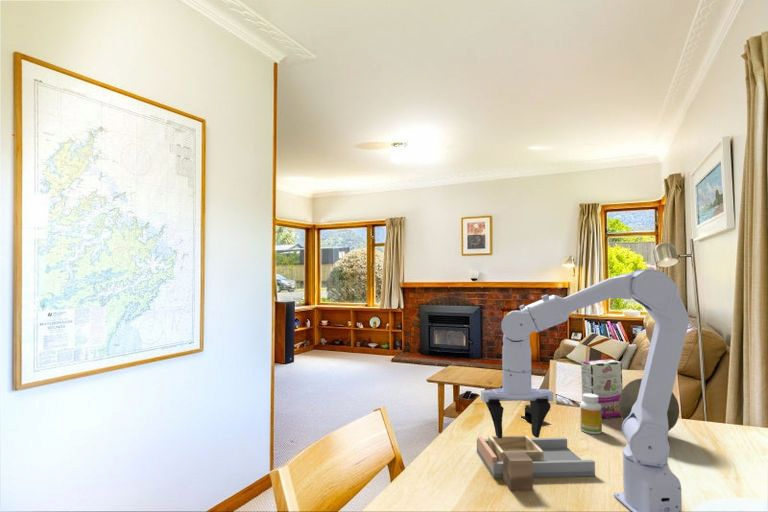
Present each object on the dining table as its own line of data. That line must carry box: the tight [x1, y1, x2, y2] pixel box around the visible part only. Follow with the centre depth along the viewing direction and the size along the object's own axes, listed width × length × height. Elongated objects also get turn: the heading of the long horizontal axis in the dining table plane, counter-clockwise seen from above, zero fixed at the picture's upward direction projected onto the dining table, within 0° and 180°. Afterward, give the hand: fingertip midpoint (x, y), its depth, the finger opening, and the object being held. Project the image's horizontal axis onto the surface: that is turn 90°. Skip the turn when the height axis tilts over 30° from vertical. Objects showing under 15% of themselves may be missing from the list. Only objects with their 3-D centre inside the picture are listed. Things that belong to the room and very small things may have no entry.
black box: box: [520, 404, 552, 427], centre depth 129 cm, size 12×7×5 cm, turn 17°
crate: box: [487, 435, 544, 462], centre depth 100 cm, size 9×9×3 cm
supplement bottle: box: [579, 393, 603, 435], centre depth 121 cm, size 5×5×10 cm
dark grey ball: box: [619, 378, 680, 432], centre depth 116 cm, size 14×14×15 cm
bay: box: [476, 436, 596, 479], centre depth 100 cm, size 14×22×4 cm, turn 93°
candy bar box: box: [580, 358, 623, 420], centre depth 133 cm, size 11×5×16 cm, turn 105°
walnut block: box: [502, 451, 534, 492], centre depth 90 cm, size 4×4×6 cm
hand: (517, 436), depth 90 cm, fingers open, 7 cm apart
